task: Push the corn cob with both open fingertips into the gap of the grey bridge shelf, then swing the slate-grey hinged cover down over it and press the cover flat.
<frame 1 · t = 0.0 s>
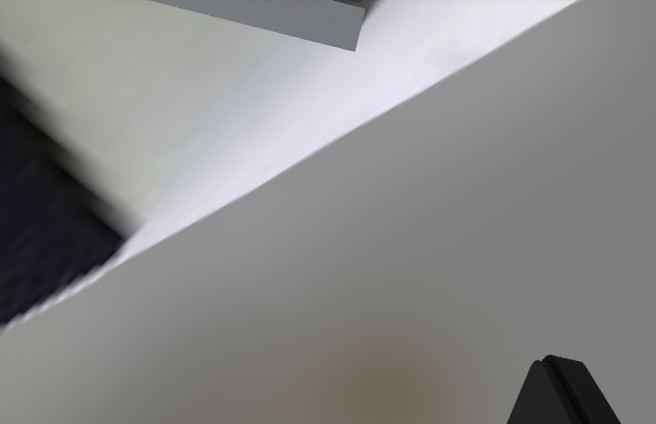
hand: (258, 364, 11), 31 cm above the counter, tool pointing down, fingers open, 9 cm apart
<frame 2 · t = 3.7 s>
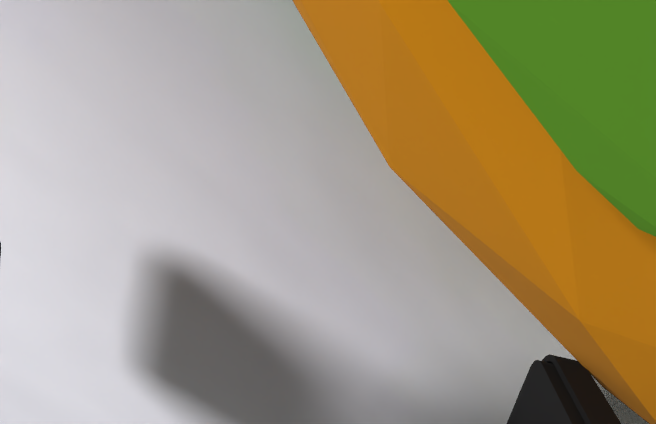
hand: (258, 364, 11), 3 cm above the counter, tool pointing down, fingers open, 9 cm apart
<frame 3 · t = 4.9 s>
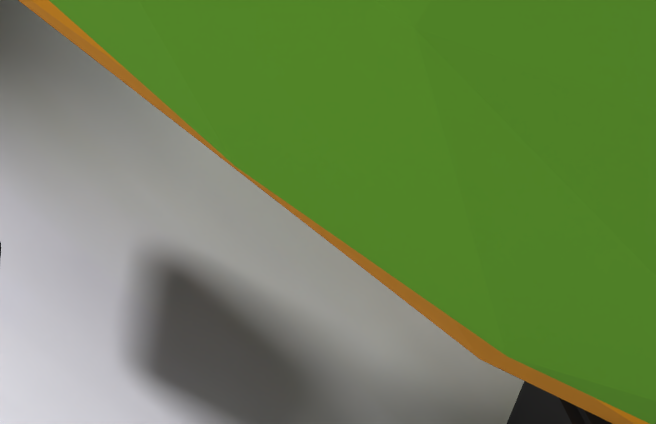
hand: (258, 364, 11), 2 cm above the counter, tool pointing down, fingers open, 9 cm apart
corn: (437, 14, 11), on the counter, touching gripper
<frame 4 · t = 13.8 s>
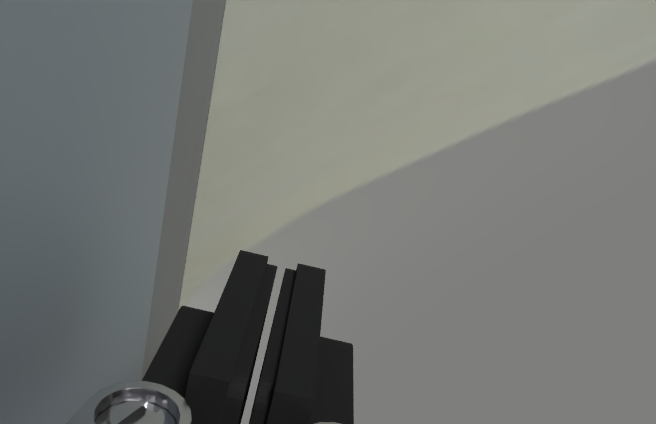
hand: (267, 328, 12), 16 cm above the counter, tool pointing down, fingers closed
grey bridge shelf: (2, 25, 26), on the counter
cover: (72, 203, 11), point 16 cm above the counter, hinge at 92.4°, touching gripper
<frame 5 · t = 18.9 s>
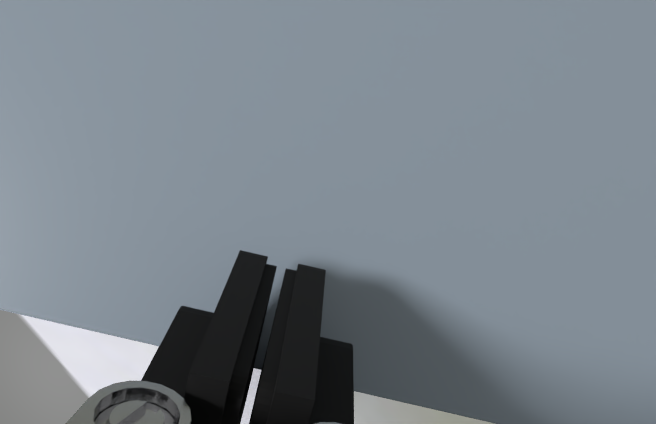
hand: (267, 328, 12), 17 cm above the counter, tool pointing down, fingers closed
cover: (339, 97, 14), point 13 cm above the counter, hinge at 29.6°, touching gripper
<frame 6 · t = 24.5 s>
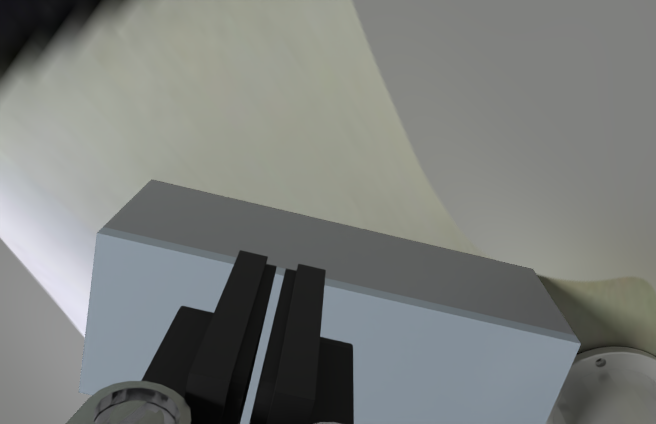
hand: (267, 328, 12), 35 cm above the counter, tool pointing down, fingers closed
grey bridge shelf: (319, 321, 52), on the counter
cover: (322, 364, 41), point 10 cm above the counter, hinge at 0.0°, touching grey bridge shelf
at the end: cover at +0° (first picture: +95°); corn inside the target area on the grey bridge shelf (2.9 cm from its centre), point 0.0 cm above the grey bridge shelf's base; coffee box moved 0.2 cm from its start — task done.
